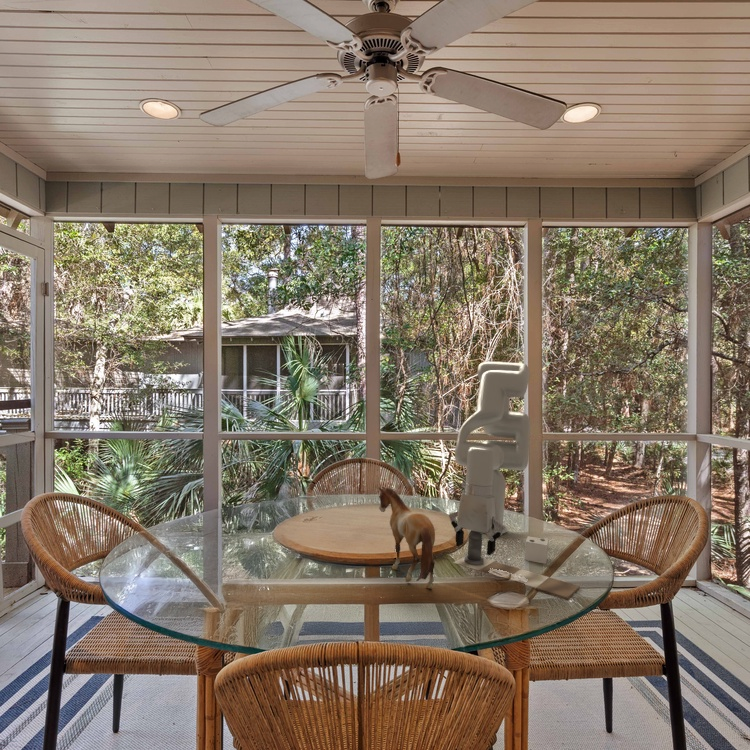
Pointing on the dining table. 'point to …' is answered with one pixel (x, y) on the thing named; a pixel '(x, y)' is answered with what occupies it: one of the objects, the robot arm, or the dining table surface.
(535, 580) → the game board
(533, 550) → the die
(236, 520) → the dining table surface
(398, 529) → the horse figurine
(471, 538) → the pawn
